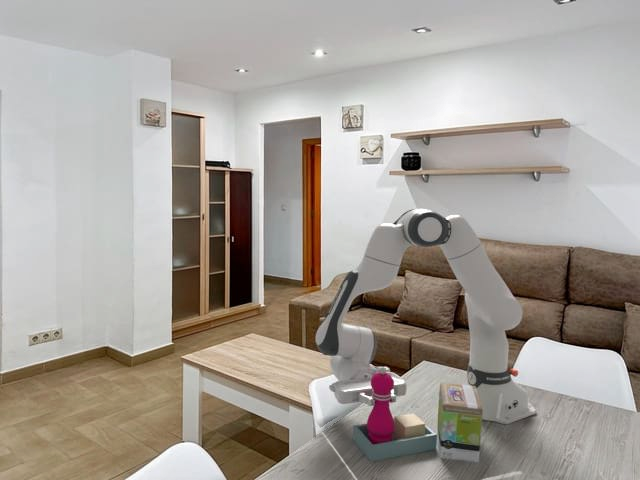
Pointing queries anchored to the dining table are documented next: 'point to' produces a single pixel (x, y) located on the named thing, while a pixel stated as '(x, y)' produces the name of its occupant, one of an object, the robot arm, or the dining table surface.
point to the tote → (393, 444)
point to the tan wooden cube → (408, 426)
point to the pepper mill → (381, 409)
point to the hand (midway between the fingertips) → (383, 401)
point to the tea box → (459, 422)
